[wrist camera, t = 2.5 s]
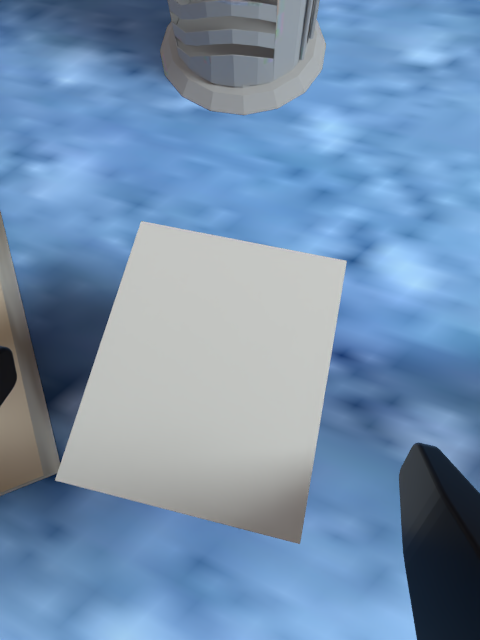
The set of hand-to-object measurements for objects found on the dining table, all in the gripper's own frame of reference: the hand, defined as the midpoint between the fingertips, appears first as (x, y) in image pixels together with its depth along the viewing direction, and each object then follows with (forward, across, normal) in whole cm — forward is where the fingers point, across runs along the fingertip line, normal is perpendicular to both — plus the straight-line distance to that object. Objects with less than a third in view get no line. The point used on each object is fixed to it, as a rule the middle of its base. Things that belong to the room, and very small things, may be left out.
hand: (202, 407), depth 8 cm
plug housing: (+7, 0, +6) cm, 9 cm away
